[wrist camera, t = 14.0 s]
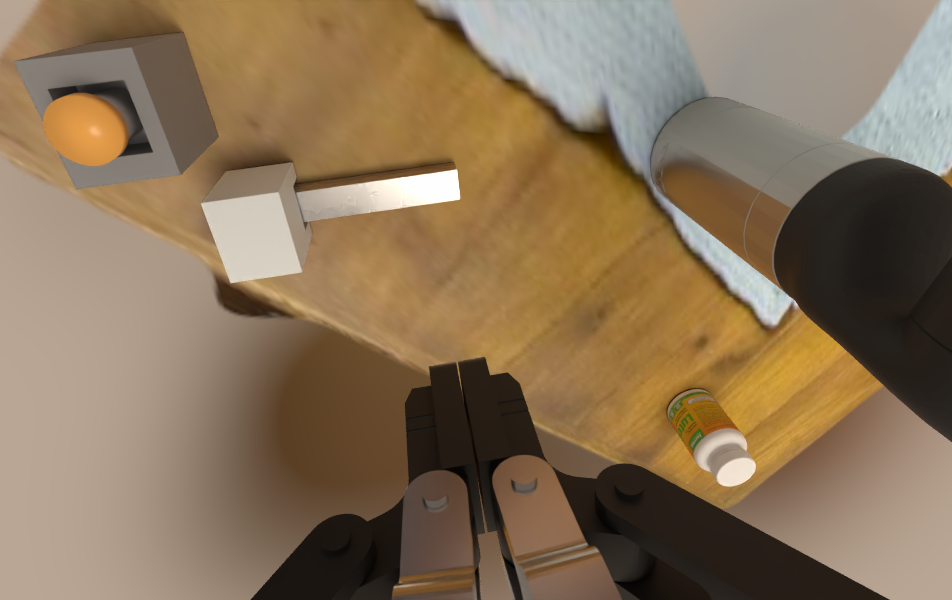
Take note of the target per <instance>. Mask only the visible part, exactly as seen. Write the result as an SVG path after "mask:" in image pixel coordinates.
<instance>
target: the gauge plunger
mask: <svg viewBox="0 0 952 600" xmlns="http://www.w3.org/2000/svg"><path fill="white" fill-rule="evenodd" d="M43 125H44V130H45V133H46V136H47V138H48V139H49V141H50V143H51V144H52V145H53V147H54V148H55V149H56V150H57V151H58V152H59V153H60V154H62V155H63V156H64V157H66V158H68V159H69V160H71V161H73V162H76V163H78V164H82V165H86V166H100V165H104V164H107V163H109V162H111V161H112V160H114V159H115V158H116V157H118V156H119V155H121V154H122V153H123V152H124V150H125V149H126V147H127V144H128V140H129V139H130V138H132V137H133V136H135V135H136V134H138V133H139V132H141V131H142V130H143V129H144V128H143V125H142V123H141V120H140V118H139V115H138V113H137V110H136V108H135V106H134V103H133V101H132V98H131V96H130V93H129V91H128V90H125V89H122V88H117V87H111V88H107V89H104V90H102V91H99V92H97V93H95V94H89V93H73V94H69V95H66V96H64V97H61V98H59V99H56V100H55V101H53V102H52V103H51V104H50V105H49V106H48V107H47V109H46V110H45V113H44V117H43Z"/></svg>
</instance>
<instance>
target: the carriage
mask: <svg viewBox="0 0 952 600" xmlns="http://www.w3.org/2000/svg"><path fill="white" fill-rule="evenodd" d="M296 178H297V176H296V172H295V169H294V165H293V162H290V163H283V164H276V165H268V166H261V167H254V168H246V169H239V170H232V171H226V172H225V173H224V174H223V176H222V177H221V178H220V179H219V181H218V182H217V183H216V184H215V186H214V187H213V188H212V189H211V191H210V192H209V193H208V195H207V196H206V197H205V198H204V200H203V201H202V202H201V205H202V208H203V211H204V213H205V216H206V219H207V221H208V224H209V227H210V229H211V232H212V235H213V237H214V240H215V243H216V245H217V248H218V251H219V253H220V256H221V259H222V261H223V264H224V267H225V269H226V272H227V275H228V277H229V280H230V283H235V282H241V281H248V280H255V279H261V278H268V277H274V276H281V275H287V274H294V273H301V272H302V271H303V267H304V263H305V260H306V256H307V252H308V248H309V245H310V241H311V237H312V231H311V227H310V224H309V221H308V222H303V220H302V216H301V213H300V209H299V205H298V202H297V198H296V195H295V191H294V188H293V185H294V183H295V181H296Z"/></svg>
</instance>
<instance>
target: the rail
mask: <svg viewBox="0 0 952 600" xmlns="http://www.w3.org/2000/svg"><path fill="white" fill-rule="evenodd" d="M293 188H294V191H295V195H296V198H297V202H298V205H299V209H300V213H301V216H302V220H303V222H308V221H315V220H322V219H329V218H336V217H343V216H350V215H356V214H363V213H370V212H377V211H384V210H391V209H398V208H405V207H412V206H418V205H425V204H432V203H439V202H446V201H453V200H460V192H459V184H458V175H457V169H456V166H455V164H454V162H452V163H445V164H438V165H431V166H424V167H417V168H410V169H402V170H395V171H388V172H381V173H374V174H367V175H360V176H353V177H345V178H338V179H331V180H324V181H317V182H310V183H303V184H295V185H293Z"/></svg>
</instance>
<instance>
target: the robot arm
mask: <svg viewBox="0 0 952 600" xmlns="http://www.w3.org/2000/svg"><path fill="white" fill-rule="evenodd" d="M651 174H652V178H653V181H654V184H655V186H656V187H657V189H658V191H659V192H660V193H661V194H662V195H663V196H664V197H665V198H666V199H667V200H669V201H670V202H671V203H672V204H674V205H675V206H676V207H677V208H679V209H680V210H681V211H682V212H684V213H685V214H686V215H687V216H688V217H690V218H691V219H692V220H694V221H695V222H696V223H697V224H699V225H700V226H701V227H702V228H704V229H705V230H706V231H708V232H709V233H710V234H711V235H713V236H714V237H715V238H716V239H718V240H719V241H720V242H722V243H723V244H724V245H725V246H727V247H728V248H729V249H730V250H732V251H733V252H734V253H736V254H737V255H738V256H739V257H741V258H742V259H743V260H744V261H746V262H747V263H748V264H750V265H751V266H752V267H753V268H755V269H756V270H757V271H758V272H760V273H761V274H762V275H764V276H765V277H766V278H768V279H769V280H770V281H771V282H773V283H774V284H775V285H777V286H778V287H779V288H780V289H782V290H783V291H784V292H785V293H786V294H788V295H789V296H790V297H791V298H793V299H794V300H795V301H796V303H797V304H798V306H799V307H800V309H801V310H802V311H803V312H804V313H805V314H806V315H807V316H808V317H809V318H810V319H811V320H812V321H813V322H814V323H815V324H817V325H818V326H819V327H820V328H821V329H822V330H824V331H825V332H826V333H827V334H828V335H830V336H831V337H832V338H833V339H834V340H835V341H836V342H838V343H839V344H840V345H841V346H842V347H843V348H844V349H845V350H846V351H848V352H849V353H850V354H851V355H852V356H853V357H854V358H855V359H856V360H857V361H858V362H859V363H860V364H862V365H863V366H864V367H865V368H866V369H867V370H868V371H869V372H870V373H871V374H872V375H873V376H874V377H875V378H876V379H877V380H879V381H880V382H881V383H882V384H883V385H884V386H885V387H886V388H887V389H888V390H889V391H890V392H891V393H893V394H894V395H895V396H896V397H897V398H898V399H899V400H900V401H902V402H903V403H904V404H905V405H906V406H907V407H908V408H910V409H911V410H912V411H913V412H914V413H915V414H916V415H918V416H919V417H920V418H921V419H922V420H924V421H925V422H926V423H927V424H929V425H930V426H931V427H933V428H934V429H935V430H937V431H938V432H939V433H941V434H942V435H943V436H944V437H946V438H947V439H948V440H950V441H951V442H952V187H951V186H950V185H949V184H947V183H946V182H945V181H944V180H943V179H942V178H940V177H939V176H937V175H936V174H934V173H932V172H930V171H928V170H925V169H923V168H920V167H918V166H915V165H912V164H909V163H906V162H904V161H901V160H898V159H895V158H892V157H890V156H887V155H884V154H881V153H878V152H876V151H873V150H870V149H867V148H865V147H862V146H858V145H855V144H853V143H850V142H847V141H844V140H842V139H839V138H836V137H833V136H830V135H828V134H825V133H822V132H819V131H817V130H814V129H811V128H808V127H805V126H803V125H800V124H797V123H794V122H791V121H789V120H786V119H783V118H780V117H778V116H775V115H772V114H770V113H767V112H764V111H761V110H759V109H756V108H753V107H750V106H748V105H745V104H742V103H739V102H736V101H734V100H730V99H728V98H721V97H711V98H704V99H701V100H698V101H696V102H693V103H691V104H689V105H688V106H686V107H684V108H682V109H681V110H680V111H679V112H678V113H676V114H675V115H674V116H673V117H672V118H671V119H670V120H669V121H668V123H667V124H666V125H665V126H664V127H663V129H662V131H661V132H660V134H659V136H658V138H657V140H656V143H655V145H654V148H653V151H652V157H651ZM458 365H459V372H460V379H461V386H462V391H461V386H460V381H459V375H458V370H457V365H456V362H452V363H446V364H440V365H434V366H429V370H430V379H431V386H427V387H420V388H414V389H412V390H411V393H410V394H409V396H408V398H407V400H406V402H405V413H406V414H405V416H406V432H407V454H408V472H409V484H408V488H407V490H406V491H405V494H404V496H403V498H402V499H401V500H400V501H399V503H398V504H397V505H395V506H394V507H393V508H392V509H390V510H389V511H388V512H385V513H384V514H382V515H380V516H378V517H376V518H374V519H372V520H369V521H366V520H365V519H363V518H362V517H360V516H357V515H353V514H341V515H336V516H333V517H330V518H328V519H326V520H325V521H323V522H321V523H320V524H319V525H317V526H316V527H315V528H314V529H313V530H312V532H311V533H310V534H309V535H308V536H307V537H306V538H305V539H304V541H303V542H302V543H301V544H300V545H299V546H298V547H297V548H296V549H295V551H294V552H293V553H292V554H291V555H290V556H289V557H288V558H287V559H286V561H285V562H284V563H283V564H282V565H281V566H280V567H279V569H278V570H277V571H276V572H275V573H274V574H273V575H272V577H270V579H269V580H268V581H267V582H266V583H265V584H264V585H263V586H262V588H261V589H260V590H259V591H258V592H257V593H256V594H255V595H254V597H253V598H252V599H251V600H482V592H481V580H480V568H479V562H480V549H479V543H478V534H483V533H485V530H484V523H483V516H482V509H481V502H480V494H481V499H482V504H483V510H484V515H485V521H486V526H487V531H488V532H492V531H497V534H498V539H499V544H500V550H501V559H502V564H503V568H504V571H505V575H506V578H507V582H508V585H509V588H510V592H511V595H512V599H513V600H889V599H887V598H885V597H883V596H882V595H880V594H878V593H876V592H874V591H872V590H870V589H868V588H866V587H865V586H863V585H861V584H859V583H857V582H855V581H853V580H852V579H850V578H848V577H846V576H844V575H842V574H841V573H839V572H837V571H835V570H833V569H831V568H829V567H828V566H826V565H824V564H822V563H820V562H818V561H816V560H814V559H813V558H811V557H809V556H807V555H805V554H803V553H801V552H800V551H798V550H796V549H794V548H792V547H790V546H788V545H787V544H785V543H783V542H781V541H779V540H777V539H775V538H773V537H772V536H770V535H768V534H766V533H764V532H762V531H760V530H759V529H757V528H755V527H753V526H751V525H749V524H747V523H746V522H744V521H742V520H740V519H738V518H736V517H734V516H732V515H731V514H729V513H727V512H725V511H723V510H721V509H719V508H718V507H716V506H714V505H712V504H710V503H708V502H706V501H705V500H703V499H701V498H699V497H697V496H695V495H693V494H691V493H690V492H688V491H686V490H684V489H682V488H680V487H678V486H677V485H675V484H673V483H671V482H669V481H667V480H665V479H664V478H662V477H660V476H658V475H656V474H654V473H652V472H650V471H649V470H647V469H645V468H643V467H640V466H637V465H633V464H616V465H612V466H610V467H608V468H606V469H604V470H603V471H602V472H601V473H600V474H599V475H598V477H597V479H592V478H582V477H574V476H570V475H566V474H563V473H562V472H559V471H558V470H556V469H555V468H553V467H552V466H551V465H550V464H549V463H548V462H547V460H546V459H545V457H544V455H543V452H542V449H541V446H540V443H539V440H538V437H537V434H536V431H535V428H534V425H533V422H532V419H531V416H530V413H529V411H528V407H527V404H526V401H525V399H524V395H523V392H522V389H521V386H520V384H519V383H518V382H517V381H516V380H515V379H514V378H513V377H512V376H511V375H510V374H509V373H502V374H496V375H490V373H489V370H488V366H487V362H486V359H485V357H481V358H475V359H469V360H463V361H458ZM462 393H463V396H462ZM463 400H464V402H463ZM477 478H478V480H477ZM478 484H479V487H478ZM479 489H480V494H479Z"/></svg>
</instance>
